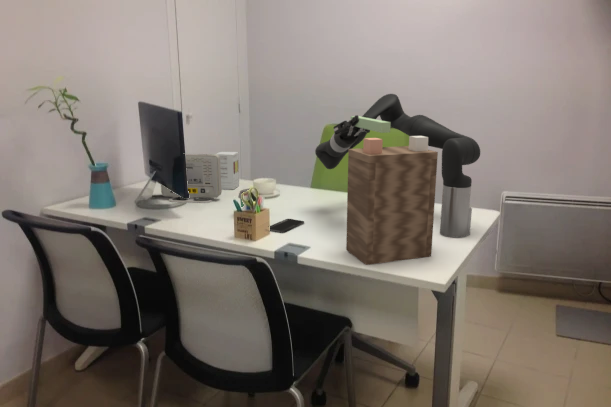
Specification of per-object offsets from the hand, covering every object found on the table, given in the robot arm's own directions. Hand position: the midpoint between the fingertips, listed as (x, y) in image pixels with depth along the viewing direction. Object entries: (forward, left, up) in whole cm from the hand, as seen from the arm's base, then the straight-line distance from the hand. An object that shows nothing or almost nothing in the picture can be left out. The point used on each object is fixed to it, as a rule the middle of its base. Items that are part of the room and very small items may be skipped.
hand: (362, 117), depth 173 cm
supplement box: (+27, -90, -40) cm, 102 cm away
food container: (+31, -35, -40) cm, 61 cm away
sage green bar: (0, +5, -3) cm, 6 cm away
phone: (+21, -18, -40) cm, 49 cm away
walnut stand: (0, +20, -40) cm, 45 cm away
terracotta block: (+7, +22, -8) cm, 25 cm away
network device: (+47, -70, -40) cm, 93 cm away
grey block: (-8, +22, -8) cm, 25 cm away
